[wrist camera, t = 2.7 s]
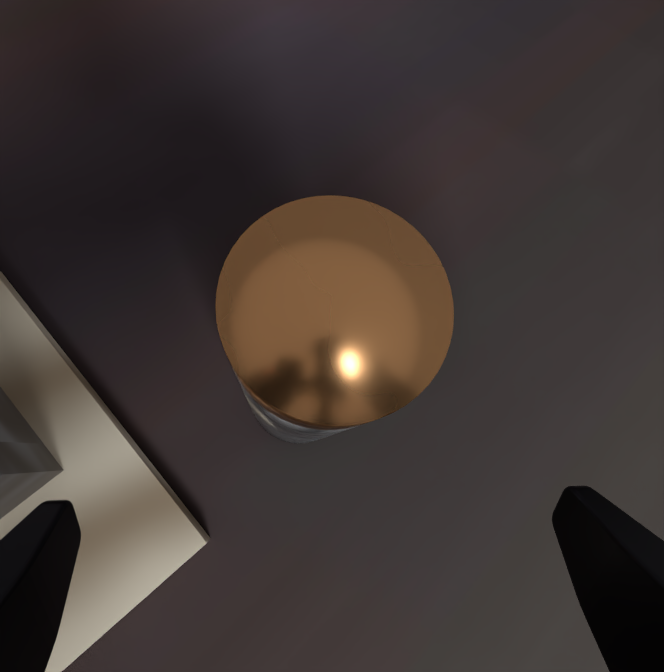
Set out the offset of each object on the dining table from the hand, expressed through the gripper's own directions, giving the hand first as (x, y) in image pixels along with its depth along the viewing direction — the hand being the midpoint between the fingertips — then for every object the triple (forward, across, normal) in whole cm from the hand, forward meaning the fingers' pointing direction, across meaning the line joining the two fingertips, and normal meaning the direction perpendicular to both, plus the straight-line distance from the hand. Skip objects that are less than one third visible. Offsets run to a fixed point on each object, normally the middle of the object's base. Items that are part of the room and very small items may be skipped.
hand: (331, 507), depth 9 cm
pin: (+10, 0, +5) cm, 11 cm away
